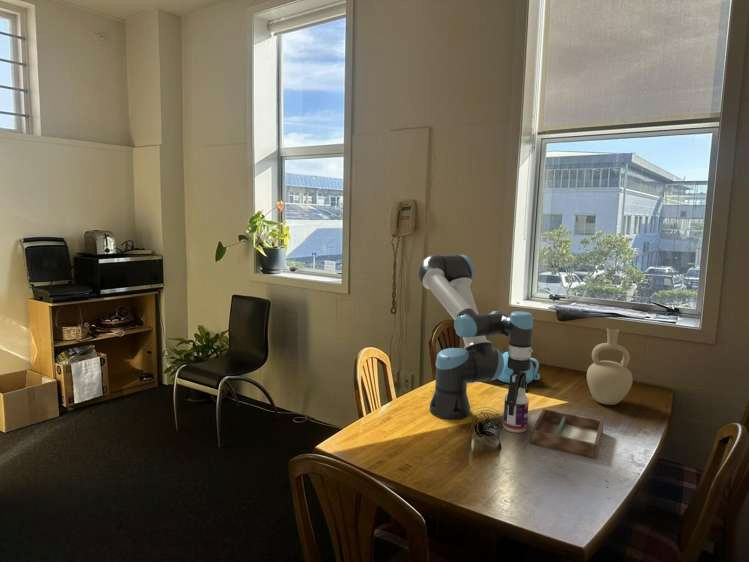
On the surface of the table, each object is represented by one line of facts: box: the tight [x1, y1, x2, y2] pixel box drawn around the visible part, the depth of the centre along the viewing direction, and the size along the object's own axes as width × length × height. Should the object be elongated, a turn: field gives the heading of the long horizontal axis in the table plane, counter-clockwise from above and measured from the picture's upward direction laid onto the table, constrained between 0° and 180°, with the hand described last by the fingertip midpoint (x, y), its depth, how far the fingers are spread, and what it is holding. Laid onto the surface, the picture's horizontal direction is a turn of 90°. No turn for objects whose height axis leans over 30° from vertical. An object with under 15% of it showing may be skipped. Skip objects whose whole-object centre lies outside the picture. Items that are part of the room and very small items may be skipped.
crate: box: [529, 408, 605, 460], centre depth 169 cm, size 20×22×4 cm
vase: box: [586, 327, 634, 406], centre depth 202 cm, size 17×17×30 cm
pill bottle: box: [502, 388, 530, 434], centre depth 175 cm, size 8×8×14 cm
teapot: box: [497, 351, 541, 385], centre depth 229 cm, size 19×19×14 cm
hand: (515, 416), depth 175 cm, fingers open, 13 cm apart
